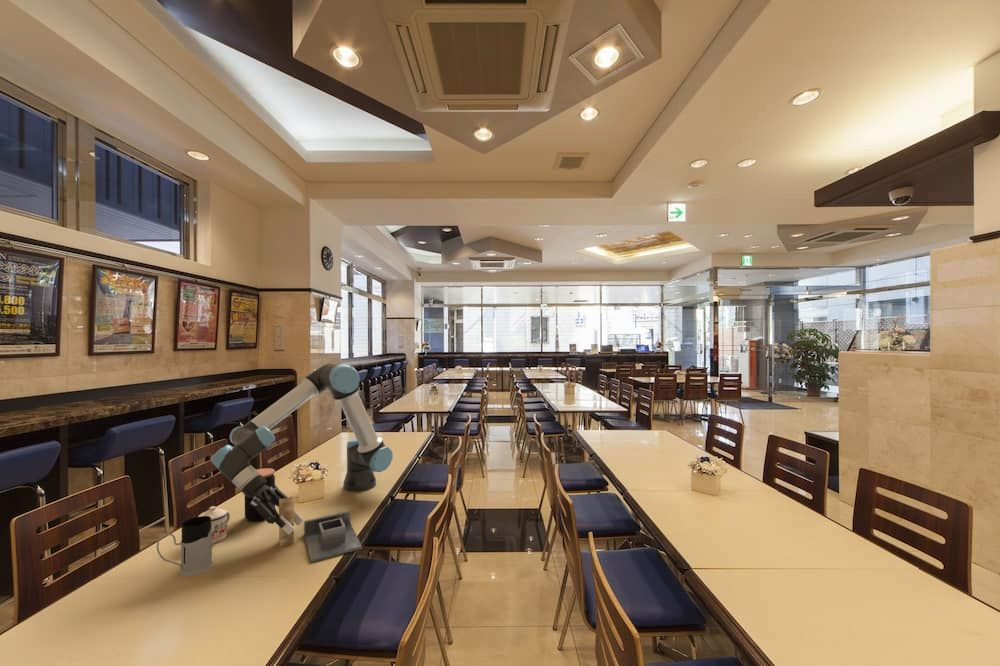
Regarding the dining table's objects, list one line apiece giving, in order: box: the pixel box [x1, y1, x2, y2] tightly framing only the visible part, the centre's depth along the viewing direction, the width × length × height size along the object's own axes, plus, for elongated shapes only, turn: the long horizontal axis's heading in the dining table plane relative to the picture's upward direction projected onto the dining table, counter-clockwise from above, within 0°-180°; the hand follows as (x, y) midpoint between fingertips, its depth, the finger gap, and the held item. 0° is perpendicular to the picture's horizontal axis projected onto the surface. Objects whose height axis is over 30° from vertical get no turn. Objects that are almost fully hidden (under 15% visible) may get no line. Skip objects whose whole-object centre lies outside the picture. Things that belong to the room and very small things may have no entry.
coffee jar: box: [244, 467, 276, 523], centre depth 165 cm, size 11×11×18 cm
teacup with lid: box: [197, 505, 230, 545], centre depth 149 cm, size 12×9×12 cm
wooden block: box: [278, 496, 295, 547], centre depth 144 cm, size 4×4×15 cm
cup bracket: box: [303, 510, 363, 564], centre depth 145 cm, size 16×22×6 cm
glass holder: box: [156, 516, 215, 578], centre depth 127 cm, size 9×14×15 cm, turn 141°
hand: (296, 526), depth 144 cm, fingers closed on wooden block, 6 cm apart
